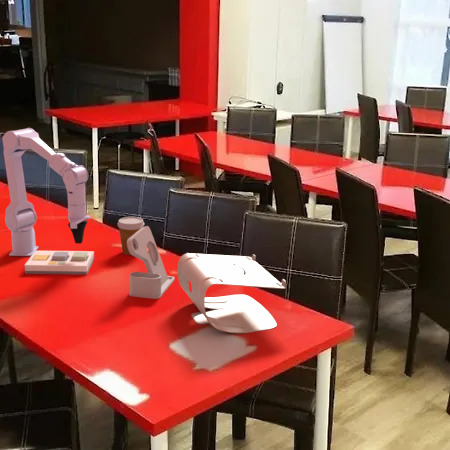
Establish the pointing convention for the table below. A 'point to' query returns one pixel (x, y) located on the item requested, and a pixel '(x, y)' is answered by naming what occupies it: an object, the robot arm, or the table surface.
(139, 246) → the phone holder
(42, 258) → the key ochre
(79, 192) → the robot arm
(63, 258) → the key slate
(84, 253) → the key sage
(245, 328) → the portable electronic device stand
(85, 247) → the table surface
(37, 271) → the keyguard panel
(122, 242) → the disposable coffee cup
